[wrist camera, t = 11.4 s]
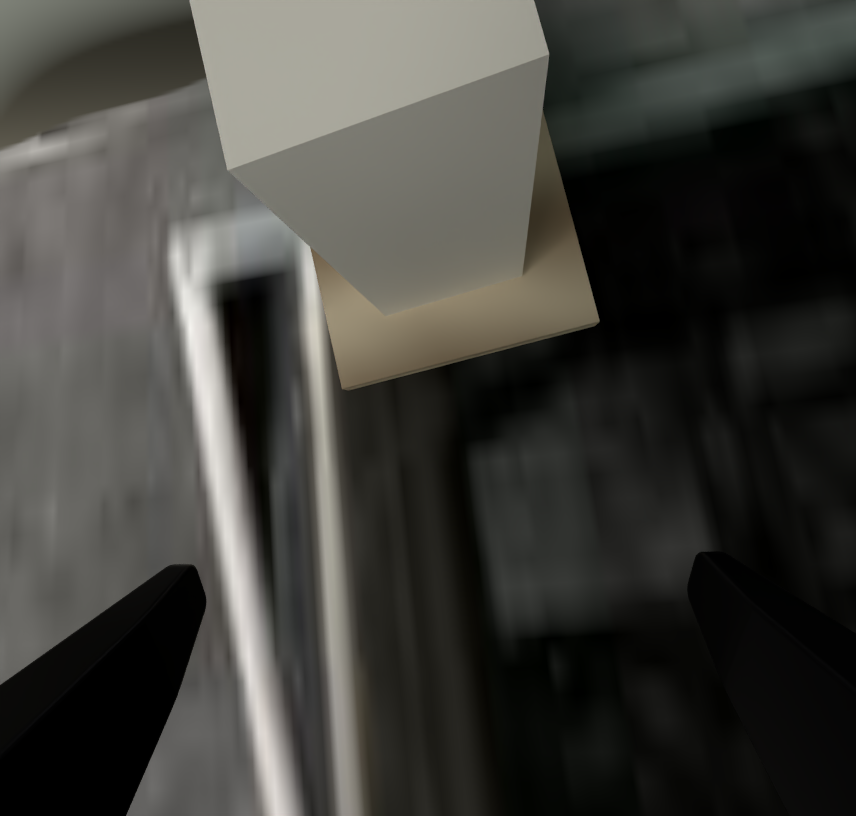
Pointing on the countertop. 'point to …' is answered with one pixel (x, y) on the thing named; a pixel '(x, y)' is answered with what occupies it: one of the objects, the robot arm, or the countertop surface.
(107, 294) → the countertop surface
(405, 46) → the tall pale rectangular prism
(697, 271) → the countertop surface
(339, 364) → the beige board with block
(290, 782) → the countertop surface
